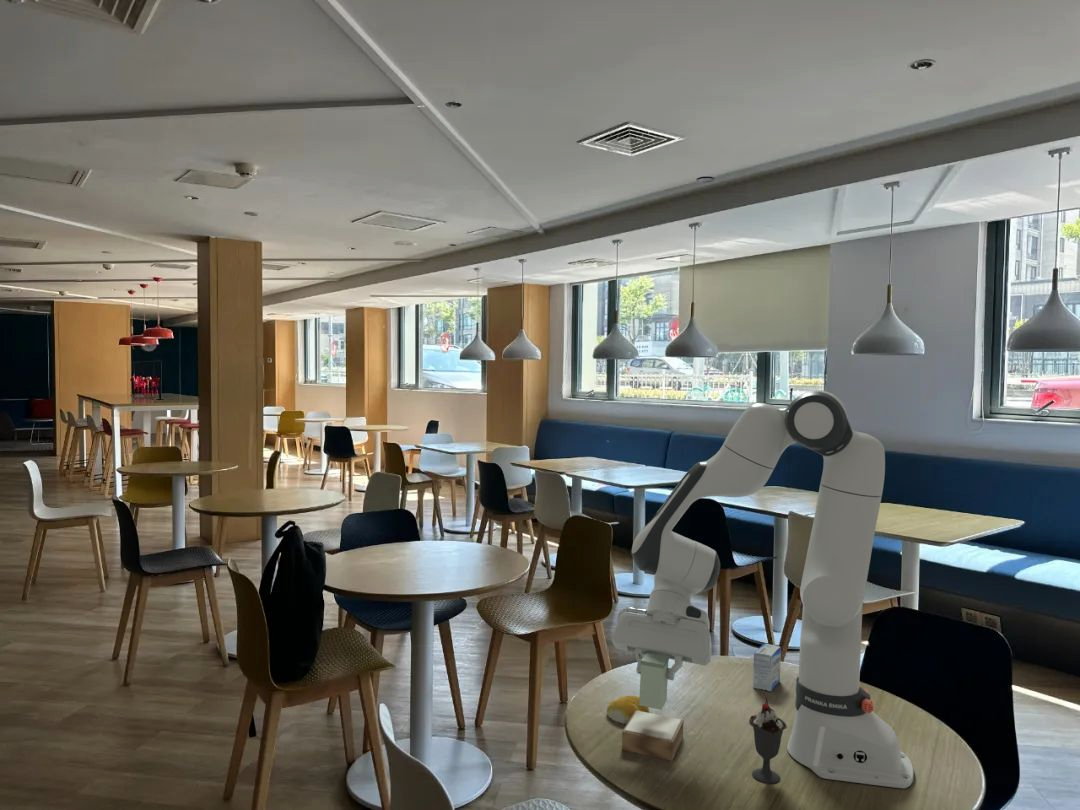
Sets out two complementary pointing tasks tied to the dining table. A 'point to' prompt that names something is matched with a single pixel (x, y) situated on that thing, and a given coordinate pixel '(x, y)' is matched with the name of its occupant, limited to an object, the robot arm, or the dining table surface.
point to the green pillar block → (653, 681)
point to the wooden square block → (652, 735)
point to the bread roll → (624, 709)
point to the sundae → (767, 741)
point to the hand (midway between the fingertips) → (654, 675)
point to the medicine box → (766, 667)
